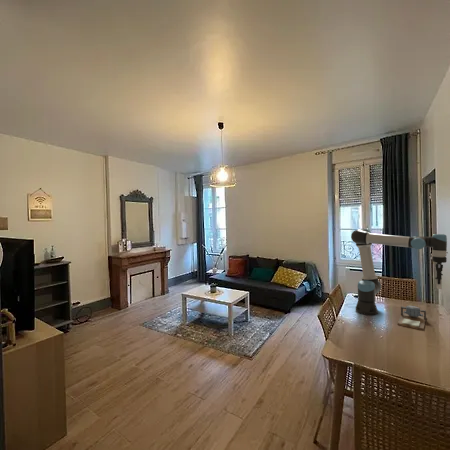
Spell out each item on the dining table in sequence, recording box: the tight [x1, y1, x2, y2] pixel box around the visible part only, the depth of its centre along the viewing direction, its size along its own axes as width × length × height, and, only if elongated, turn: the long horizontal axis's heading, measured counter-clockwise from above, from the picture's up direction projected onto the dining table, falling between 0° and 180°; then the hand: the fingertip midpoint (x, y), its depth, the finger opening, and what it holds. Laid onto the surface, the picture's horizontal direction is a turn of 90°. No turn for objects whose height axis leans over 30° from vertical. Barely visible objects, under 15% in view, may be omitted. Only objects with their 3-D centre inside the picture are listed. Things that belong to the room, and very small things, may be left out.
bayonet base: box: [397, 306, 427, 331], centre depth 176 cm, size 14×26×7 cm, turn 138°
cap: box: [403, 305, 424, 317], centre depth 181 cm, size 11×8×6 cm
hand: (438, 286), depth 175 cm, fingers open, 13 cm apart
